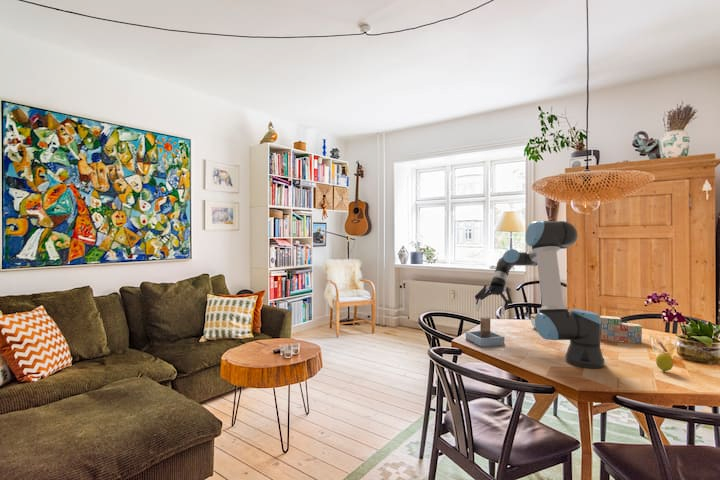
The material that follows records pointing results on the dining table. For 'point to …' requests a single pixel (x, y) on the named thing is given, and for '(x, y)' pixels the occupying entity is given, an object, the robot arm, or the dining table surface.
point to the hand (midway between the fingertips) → (489, 311)
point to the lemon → (664, 362)
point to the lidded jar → (533, 319)
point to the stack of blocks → (619, 330)
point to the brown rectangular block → (484, 327)
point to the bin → (491, 341)
